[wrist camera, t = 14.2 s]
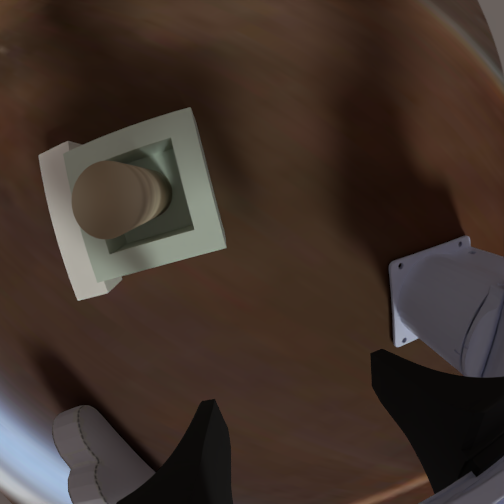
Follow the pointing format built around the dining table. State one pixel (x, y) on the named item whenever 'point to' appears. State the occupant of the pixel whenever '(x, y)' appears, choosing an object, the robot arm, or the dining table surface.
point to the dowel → (118, 198)
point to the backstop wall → (69, 225)
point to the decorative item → (97, 458)
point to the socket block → (182, 204)
